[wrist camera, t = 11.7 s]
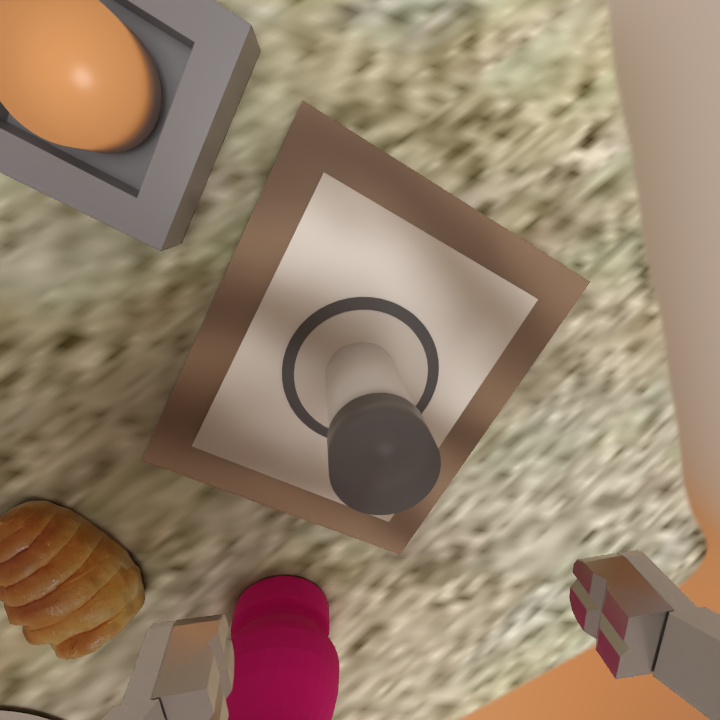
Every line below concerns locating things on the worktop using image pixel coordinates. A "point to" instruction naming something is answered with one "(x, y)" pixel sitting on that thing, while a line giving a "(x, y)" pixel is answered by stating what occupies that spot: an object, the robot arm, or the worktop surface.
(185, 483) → the worktop surface
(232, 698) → the pepper mill
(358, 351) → the marker
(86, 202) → the button base
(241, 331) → the board
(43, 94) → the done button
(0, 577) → the pastry
